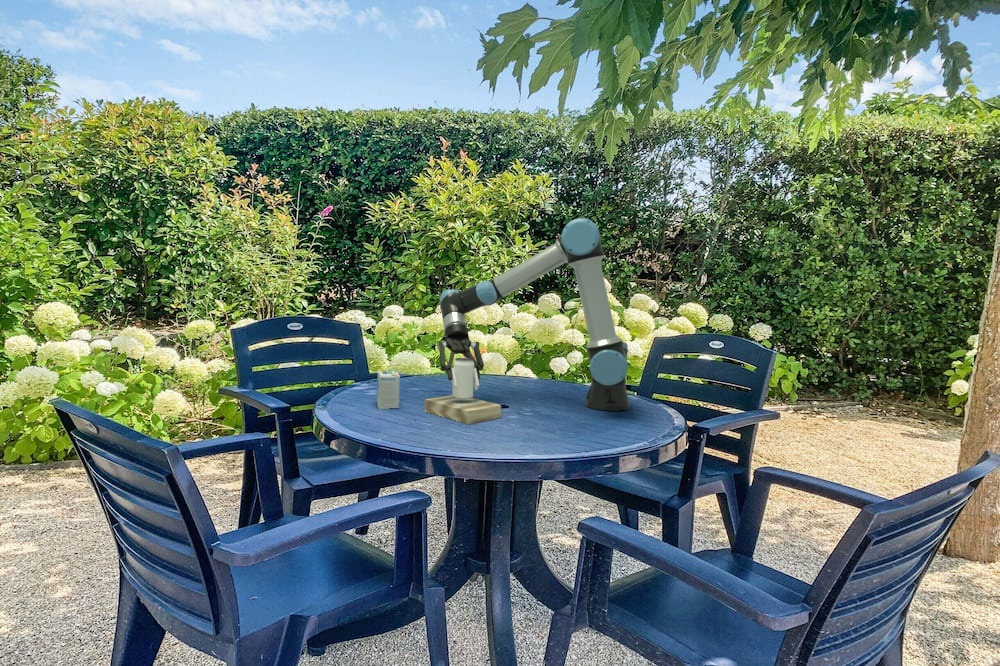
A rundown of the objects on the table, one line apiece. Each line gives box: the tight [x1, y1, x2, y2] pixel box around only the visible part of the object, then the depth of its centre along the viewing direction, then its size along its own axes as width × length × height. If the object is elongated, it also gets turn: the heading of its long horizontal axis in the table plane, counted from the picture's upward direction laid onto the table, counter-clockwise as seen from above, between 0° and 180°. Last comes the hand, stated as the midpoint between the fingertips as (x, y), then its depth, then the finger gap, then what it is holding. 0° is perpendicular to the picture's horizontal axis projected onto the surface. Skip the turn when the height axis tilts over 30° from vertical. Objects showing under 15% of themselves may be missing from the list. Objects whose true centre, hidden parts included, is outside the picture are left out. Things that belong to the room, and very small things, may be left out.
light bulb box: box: [376, 370, 401, 410], centre depth 199 cm, size 11×7×11 cm, turn 15°
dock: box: [423, 394, 502, 425], centre depth 191 cm, size 20×14×4 cm
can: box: [451, 357, 474, 399], centre depth 190 cm, size 6×6×12 cm
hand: (466, 387), depth 187 cm, fingers closed on can, 6 cm apart
